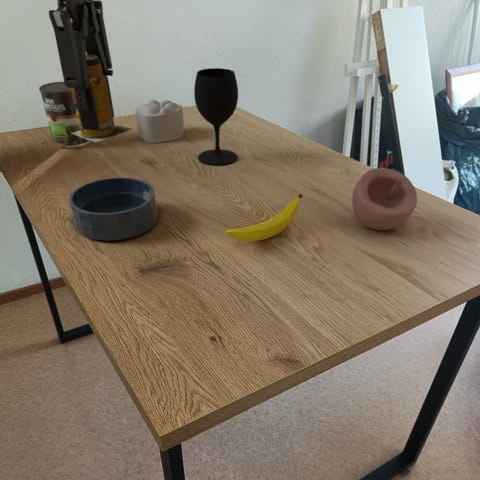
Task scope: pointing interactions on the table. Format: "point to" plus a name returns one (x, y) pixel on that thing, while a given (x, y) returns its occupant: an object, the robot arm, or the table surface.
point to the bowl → (114, 208)
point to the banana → (267, 225)
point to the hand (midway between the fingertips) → (99, 122)
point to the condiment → (98, 104)
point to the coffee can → (61, 114)
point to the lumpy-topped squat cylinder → (159, 121)
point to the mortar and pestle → (383, 199)
